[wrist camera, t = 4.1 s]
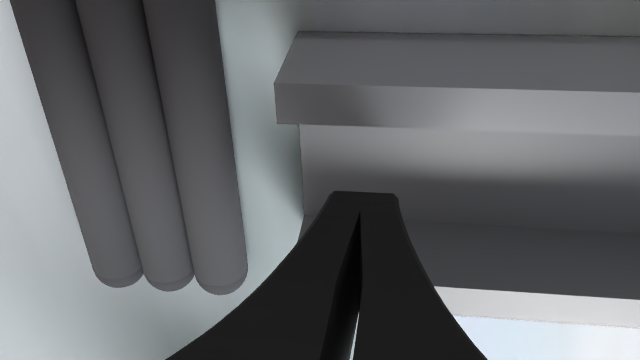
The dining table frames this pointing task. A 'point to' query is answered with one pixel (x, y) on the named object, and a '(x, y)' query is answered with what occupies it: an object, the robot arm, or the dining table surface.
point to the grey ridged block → (141, 136)
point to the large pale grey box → (485, 160)
